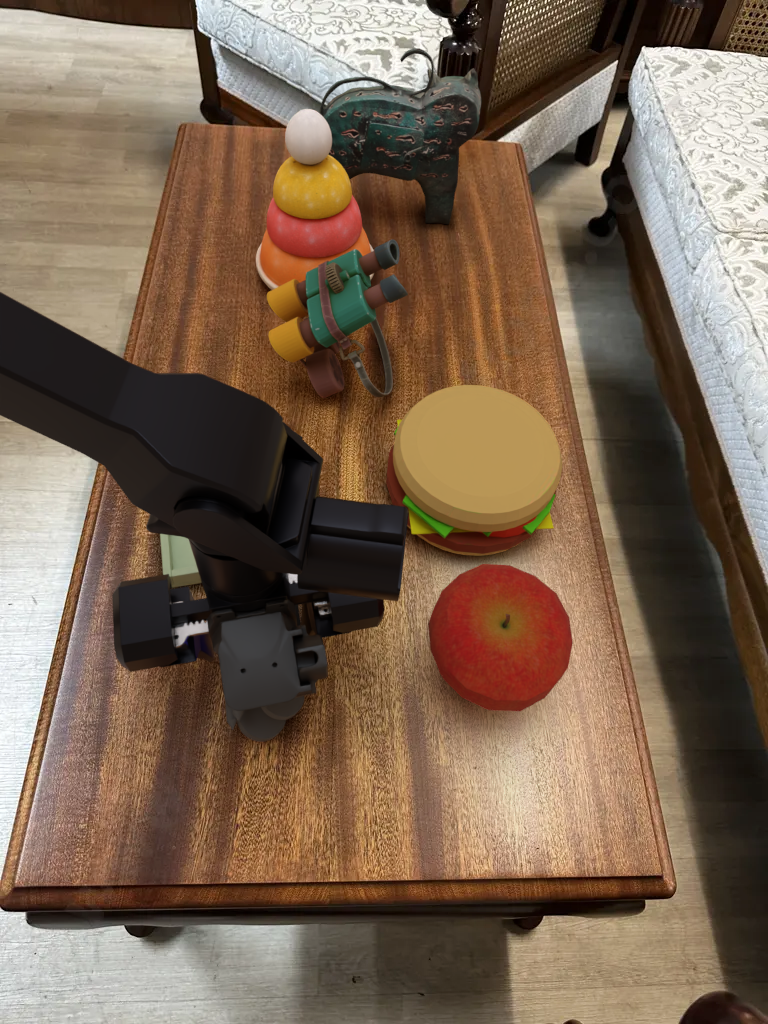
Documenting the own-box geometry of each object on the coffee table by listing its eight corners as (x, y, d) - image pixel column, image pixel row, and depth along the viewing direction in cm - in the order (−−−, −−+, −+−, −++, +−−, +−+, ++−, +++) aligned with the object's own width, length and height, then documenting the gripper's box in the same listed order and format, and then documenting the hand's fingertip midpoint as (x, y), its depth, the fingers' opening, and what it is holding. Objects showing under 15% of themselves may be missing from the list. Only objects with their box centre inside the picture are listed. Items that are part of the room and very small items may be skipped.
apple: (522, 758, 58) (565, 713, 48) (398, 706, 59) (414, 652, 49) (556, 639, 64) (601, 577, 53) (442, 594, 65) (465, 526, 55)
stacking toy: (373, 237, 91) (385, 77, 75) (376, 316, 84) (390, 157, 67) (260, 232, 90) (247, 69, 74) (253, 311, 83) (236, 149, 66)
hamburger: (377, 430, 75) (383, 377, 68) (529, 426, 77) (549, 374, 70) (392, 569, 66) (400, 524, 59) (563, 561, 68) (589, 516, 61)
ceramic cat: (460, 205, 96) (490, 43, 79) (462, 236, 93) (494, 74, 76) (312, 193, 95) (310, 27, 78) (308, 224, 92) (305, 57, 75)
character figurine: (227, 753, 57) (218, 584, 65) (319, 737, 57) (299, 571, 65) (206, 725, 50) (199, 541, 58) (310, 707, 51) (289, 527, 59)
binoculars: (330, 346, 85) (256, 257, 73) (438, 296, 81) (376, 192, 69) (340, 440, 78) (259, 357, 66) (459, 390, 73) (394, 292, 61)
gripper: (91, 707, 40) (147, 771, 53) (413, 645, 44) (391, 720, 57) (88, 537, 46) (140, 633, 59) (373, 494, 49) (362, 594, 62)
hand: (259, 646), depth 59 cm, fingers open, 7 cm apart
